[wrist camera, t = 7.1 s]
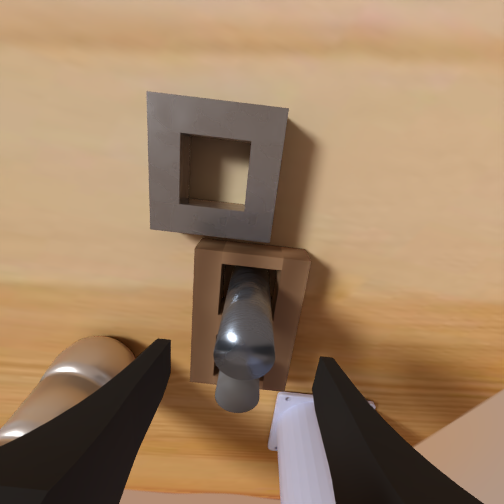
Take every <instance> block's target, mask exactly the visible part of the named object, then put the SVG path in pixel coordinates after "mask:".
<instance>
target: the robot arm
mask: <svg viewBox="0 0 504 504" xmlns="http://www.w3.org/2000/svg"><path fill="white" fill-rule="evenodd" d="M170 373H171V340H167V339H157V340H155V341H154V342H153V343H152V344H151V345H150V346H149V347H148V348H147V349H146V350H145V351H144V352H142V353H141V354H140V355H139V356H138V357H137V358H136V359H135V360H134V361H132V362H131V363H130V364H129V365H128V366H127V367H126V368H124V369H123V370H122V371H121V372H120V373H118V374H117V375H116V376H115V377H113V378H112V379H111V380H110V381H108V382H107V383H106V384H105V385H103V386H102V387H101V388H99V389H98V390H96V391H95V392H94V393H92V394H91V395H89V396H88V397H87V398H85V399H84V400H82V401H81V402H79V403H78V404H76V405H75V406H73V407H71V408H70V409H68V410H66V411H65V412H63V413H62V414H60V415H58V416H57V417H55V418H53V419H52V420H50V421H48V422H46V423H45V424H43V425H41V426H39V427H37V428H36V429H34V430H32V431H30V432H28V433H26V434H24V435H22V436H20V437H19V438H17V439H15V440H13V441H11V442H9V443H6V444H4V445H2V446H0V504H119V502H120V499H121V496H122V494H123V491H124V488H125V485H126V482H127V479H128V477H129V474H130V471H131V468H132V466H133V463H134V460H135V457H136V455H137V453H138V450H139V448H140V445H141V443H142V441H143V439H144V437H145V434H146V432H147V430H148V428H149V426H150V424H151V421H152V419H153V417H154V415H155V413H156V410H157V408H158V406H159V404H160V402H161V399H162V397H163V395H164V392H165V389H166V386H167V383H168V380H169V376H170ZM312 392H313V395H310V394H301V393H291V392H279V393H278V395H277V399H276V404H275V410H274V415H273V420H272V425H271V430H270V435H269V440H268V449H270V450H272V451H278V466H279V483H280V499H281V504H484V503H482V502H481V501H479V500H478V499H477V498H475V497H474V496H472V495H471V494H470V493H468V492H467V491H465V490H464V489H463V488H461V487H460V486H459V485H457V484H456V483H455V482H454V481H452V480H451V479H450V478H448V477H447V476H446V475H445V474H443V473H442V472H441V471H440V470H438V469H437V468H436V467H435V466H434V465H432V464H431V463H430V462H429V461H428V460H426V459H425V458H424V457H423V456H422V455H421V454H420V453H419V452H417V451H416V450H415V449H414V448H413V447H412V446H411V445H410V444H408V443H407V442H406V441H405V440H404V439H403V438H402V437H401V436H400V435H399V434H398V433H397V432H396V431H395V430H394V429H393V428H392V427H391V426H390V425H389V424H388V423H387V422H386V421H385V420H384V419H383V418H382V417H381V416H380V415H379V414H378V413H377V411H376V410H375V408H376V406H375V404H374V402H372V401H367V400H366V399H365V398H364V397H363V395H362V394H361V393H360V392H359V391H358V389H357V388H356V387H355V386H354V384H353V383H352V382H351V381H350V379H349V378H348V377H347V375H346V374H345V373H344V372H343V370H342V369H341V368H340V366H339V365H338V364H337V362H336V361H335V360H334V359H333V358H330V357H321V356H320V360H319V364H318V367H317V371H316V375H315V379H314V383H313V387H312ZM287 397H289V398H287Z"/></svg>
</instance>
